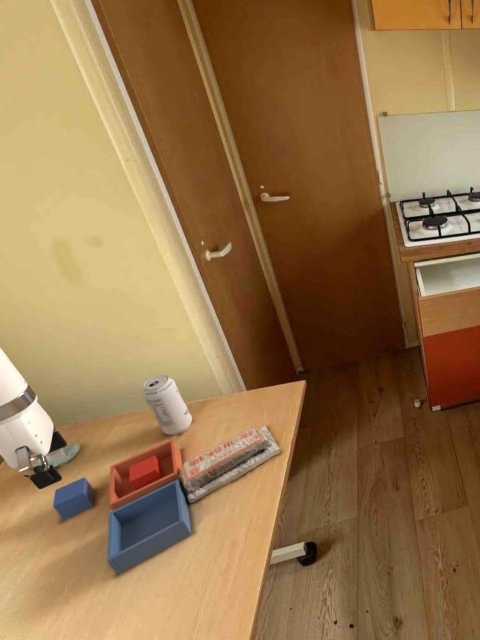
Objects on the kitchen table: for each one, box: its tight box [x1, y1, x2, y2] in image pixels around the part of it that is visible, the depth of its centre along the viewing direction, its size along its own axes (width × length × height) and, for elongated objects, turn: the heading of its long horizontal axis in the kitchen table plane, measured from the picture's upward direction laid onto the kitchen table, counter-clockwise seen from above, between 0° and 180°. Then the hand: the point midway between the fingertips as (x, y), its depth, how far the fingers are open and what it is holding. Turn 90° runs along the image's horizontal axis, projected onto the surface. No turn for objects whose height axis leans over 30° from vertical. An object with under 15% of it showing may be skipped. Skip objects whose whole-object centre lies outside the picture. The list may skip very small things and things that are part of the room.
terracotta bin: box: [108, 438, 184, 511], centre depth 92 cm, size 11×11×4 cm
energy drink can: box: [142, 374, 193, 436], centre depth 103 cm, size 6×6×15 cm
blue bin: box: [106, 479, 192, 575], centre depth 83 cm, size 11×11×4 cm
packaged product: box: [179, 425, 280, 504], centre depth 96 cm, size 18×5×10 cm
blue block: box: [52, 476, 95, 520], centre depth 87 cm, size 4×4×4 cm
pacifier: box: [34, 443, 80, 468], centre depth 96 cm, size 7×6×6 cm
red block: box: [129, 456, 164, 491], centre depth 91 cm, size 4×4×4 cm
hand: (54, 465), depth 83 cm, fingers open, 9 cm apart
